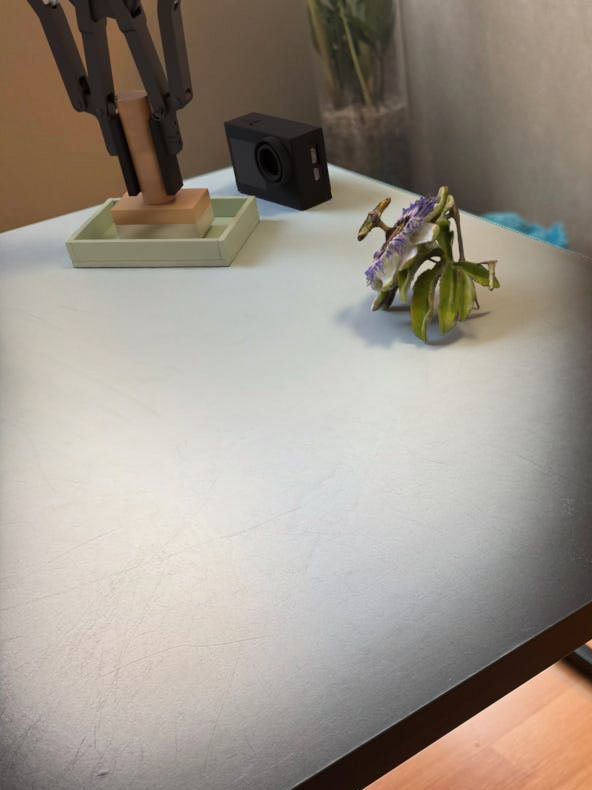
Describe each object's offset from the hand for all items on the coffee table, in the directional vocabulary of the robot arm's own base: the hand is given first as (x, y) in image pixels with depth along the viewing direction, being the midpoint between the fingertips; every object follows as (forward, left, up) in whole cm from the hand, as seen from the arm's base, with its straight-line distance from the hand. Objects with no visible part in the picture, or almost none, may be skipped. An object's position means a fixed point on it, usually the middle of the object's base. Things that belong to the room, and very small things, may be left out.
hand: (156, 190), depth 95 cm
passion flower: (+28, -15, -5) cm, 32 cm away
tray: (0, 0, -5) cm, 5 cm away
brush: (0, 0, -4) cm, 4 cm away
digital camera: (+8, +12, -5) cm, 15 cm away
